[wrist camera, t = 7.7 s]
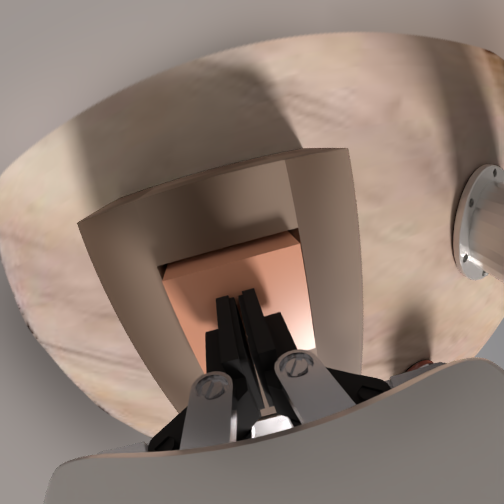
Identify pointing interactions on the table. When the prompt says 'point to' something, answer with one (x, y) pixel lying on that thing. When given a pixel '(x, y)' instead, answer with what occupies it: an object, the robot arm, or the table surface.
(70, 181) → the table surface
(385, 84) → the table surface
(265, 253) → the terracotta button
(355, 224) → the button console
